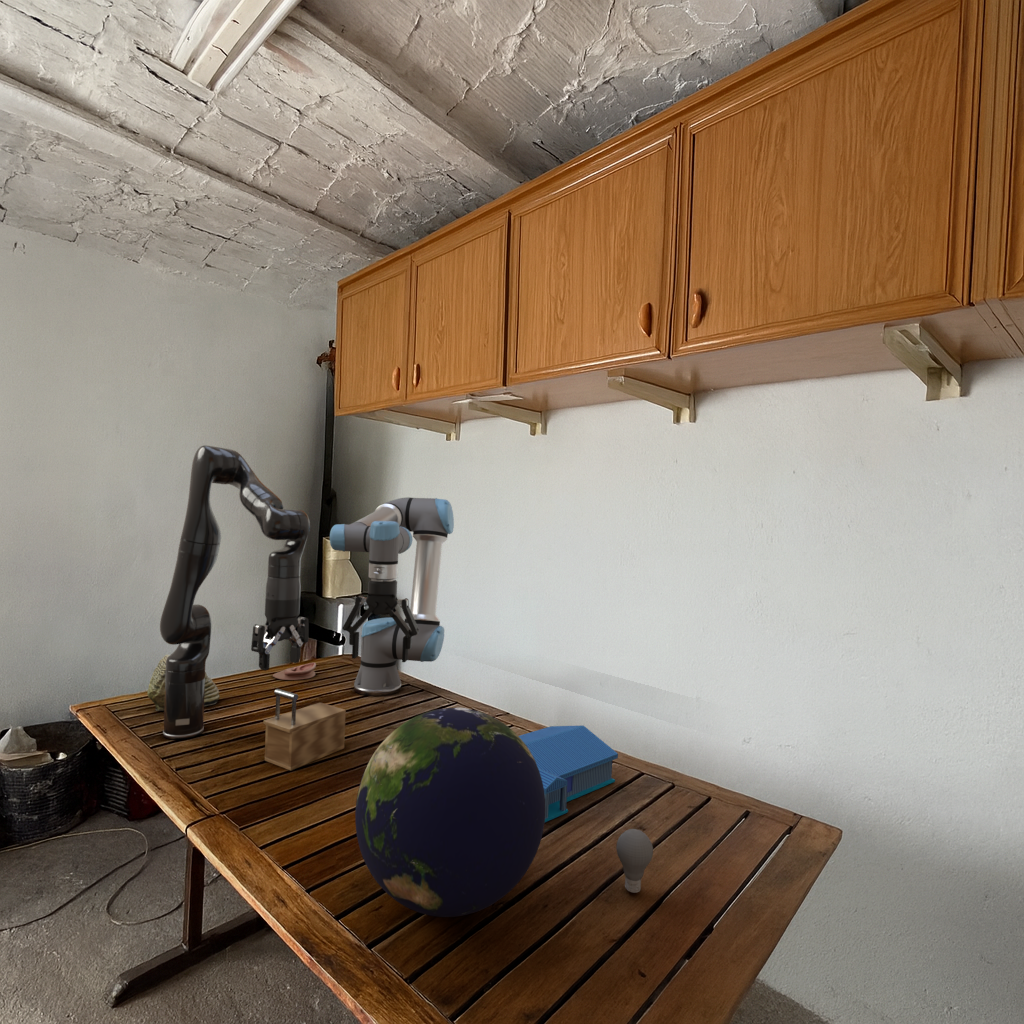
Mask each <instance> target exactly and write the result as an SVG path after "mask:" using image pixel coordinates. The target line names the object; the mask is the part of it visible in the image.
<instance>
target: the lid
mask: <svg viewBox="0 0 1024 1024" xmlns="http://www.w3.org/2000/svg"><path fill="white" fill-rule="evenodd" d="M274 696H275V715H274V717H270V718H268V719H264V720H263V721H262V722H263V723H262V724H263V725H265V726H266V725H268V726H271V727H274V728H277V729H279V730H282V731H285V732H288V733H291V732H294V731H296V730H299V729H302V728H305V727H308V726H311V725H313V724H316V723H319V722H322V721H325V720H327V719H330V718H333V717H336V716H339V715H341V714H344V713H347V709H344V708H341V707H338V706H334V705H330V704H327V703H323V702H317V703H314V704H310V705H307V706H305V707H302V708H298V709H297V700H299V695H298V693H294V692H290V691H287V690H284V689H282V688H281V689H280V688H276V689H275V690H274ZM281 698H284V699H286V700H287V699H288V700H290V701H291V711H289V712H286V713H283V714H281Z"/></svg>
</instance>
